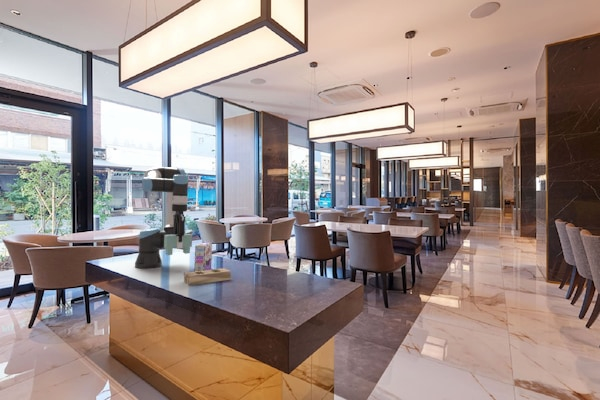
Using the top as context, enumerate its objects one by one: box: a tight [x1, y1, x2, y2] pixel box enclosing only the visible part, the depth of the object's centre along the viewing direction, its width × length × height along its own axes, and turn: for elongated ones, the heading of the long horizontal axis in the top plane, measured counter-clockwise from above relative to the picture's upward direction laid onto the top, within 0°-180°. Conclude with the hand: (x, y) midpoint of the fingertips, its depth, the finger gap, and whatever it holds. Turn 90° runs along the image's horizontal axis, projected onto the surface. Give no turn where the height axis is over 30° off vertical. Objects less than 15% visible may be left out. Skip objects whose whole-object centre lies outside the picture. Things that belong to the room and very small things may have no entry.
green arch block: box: [164, 233, 193, 256], centre depth 158 cm, size 4×13×10 cm, turn 128°
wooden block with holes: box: [183, 267, 232, 286], centre depth 158 cm, size 9×22×4 cm, turn 128°
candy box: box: [193, 242, 213, 272], centre depth 178 cm, size 14×6×16 cm, turn 179°
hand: (178, 247), depth 158 cm, fingers closed on green arch block, 4 cm apart
